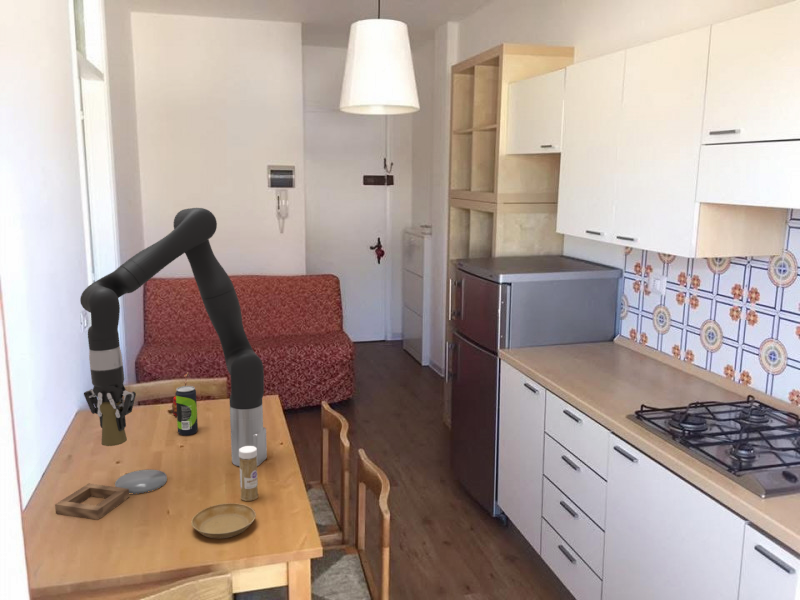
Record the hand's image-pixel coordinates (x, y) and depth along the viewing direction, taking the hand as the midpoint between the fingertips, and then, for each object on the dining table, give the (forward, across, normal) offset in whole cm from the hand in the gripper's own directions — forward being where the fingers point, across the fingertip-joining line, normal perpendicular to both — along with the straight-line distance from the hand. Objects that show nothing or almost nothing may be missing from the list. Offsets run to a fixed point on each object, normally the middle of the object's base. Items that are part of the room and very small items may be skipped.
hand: (113, 429), depth 171 cm
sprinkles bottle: (+19, -33, -7) cm, 39 cm away
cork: (+3, 0, 0) cm, 3 cm away
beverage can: (+19, +6, -44) cm, 48 cm away
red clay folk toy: (+19, +17, -59) cm, 64 cm away
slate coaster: (+18, -1, -7) cm, 20 cm away
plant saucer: (+19, -34, +8) cm, 40 cm away
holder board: (+18, +3, +6) cm, 19 cm away
